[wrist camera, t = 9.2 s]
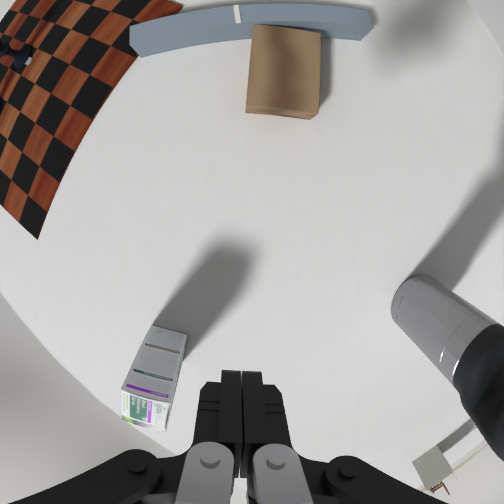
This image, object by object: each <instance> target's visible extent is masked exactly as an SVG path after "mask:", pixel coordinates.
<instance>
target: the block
mask: <svg viewBox="0 0 504 504" xmlns="http://www.w3.org/2000/svg"><path fill="white" fill-rule="evenodd" d="M320 58H321V33H316V32H310V31H305V30H299V29H292V28H285V27H277V26H268V25H258V24H254V26H253V35H252V44H251V55H250V66H249V77H248V89H247V101H246V113H253V114H265V115H275V116H284V117H293V118H300V119H308V120H310V119H311V118H313V117H314V116H316V115H317V114H318V113H319V92H320Z"/></svg>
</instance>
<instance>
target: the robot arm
mask: <svg viewBox="0 0 504 504" xmlns="http://www.w3.org/2000/svg"><path fill="white" fill-rule="evenodd" d="M391 314H392V318H393V320H394V322H395V323H396V324H397V325H398V326H399V327H400V328H401V329H402V330H403V331H404V332H405V333H406V335H407V336H408V337H409V338H410V339H411V340H412V341H413V342H414V343H415V344H416V345H417V346H418V347H419V348H420V350H421V351H422V352H423V353H424V354H425V355H426V356H427V357H428V358H429V359H430V360H431V362H432V363H433V364H434V365H435V366H436V367H437V368H438V369H439V370H440V371H441V373H442V374H443V375H444V376H445V377H446V378H447V379H448V380H449V381H450V383H451V384H452V385H453V386H454V387H455V388H456V389H457V391H458V392H459V394H460V398H461V402H462V405H463V407H464V409H465V410H466V412H467V413H468V415H469V416H470V417H471V419H472V420H473V422H474V423H475V425H476V426H477V428H478V429H479V431H480V432H481V434H482V435H483V437H484V438H485V440H486V441H487V443H488V444H489V446H490V447H491V448H492V450H493V451H494V452H495V453H496V455H498V457H499V458H500V459H502V460H503V461H504V327H503V326H502V325H501V324H499V323H498V322H496V321H495V320H494V319H492V318H491V317H489V316H488V315H486V314H485V313H483V312H482V311H480V310H479V309H477V308H476V307H475V306H473V305H472V304H470V303H469V302H467V301H466V300H464V299H463V298H461V297H460V296H458V295H456V294H455V293H453V292H452V291H450V290H449V289H447V288H446V287H444V286H443V285H441V284H440V283H438V282H436V281H435V280H433V279H432V278H430V277H428V276H426V275H417V276H414V277H412V278H410V279H408V280H407V281H405V282H404V283H403V284H402V285H401V286H400V288H399V289H398V291H397V292H396V294H395V296H394V299H393V302H392V307H391ZM239 467H240V478H247V493H246V498H247V504H448V503H446V502H443V501H441V500H438V499H436V498H434V497H432V496H429V495H427V494H425V493H423V492H421V491H419V490H417V489H415V488H412V487H410V486H408V485H406V484H404V483H402V482H400V481H399V480H397V479H395V478H393V477H391V476H389V475H387V474H385V473H384V472H382V471H380V470H378V469H376V468H375V467H373V466H371V465H369V464H368V463H366V462H364V461H362V460H361V459H359V458H357V457H354V456H339V457H336V458H334V459H333V460H331V461H330V462H329V463H326V462H319V461H313V460H309V459H306V458H304V457H302V456H300V455H299V454H298V453H297V452H295V450H294V449H293V447H292V445H291V440H290V435H289V430H288V425H287V420H286V414H285V409H284V406H283V399H282V394H281V392H280V391H279V390H278V389H277V387H276V386H275V385H263V381H262V373H261V372H256V371H242V375H241V371H233V370H222V376H221V383H219V382H207V383H206V384H205V385H204V386H203V387H202V389H201V390H200V396H199V403H198V411H197V417H196V424H195V431H194V439H193V443H192V445H191V447H190V448H189V449H188V450H187V451H186V452H185V453H183V454H181V455H178V456H174V457H168V458H156V457H155V456H154V455H153V454H151V453H150V452H147V451H145V450H139V449H132V450H127V451H125V452H123V453H121V454H119V455H117V456H116V457H114V458H112V459H110V460H108V461H106V462H104V463H102V464H100V465H98V466H96V467H95V468H92V469H90V470H88V471H86V472H84V473H82V474H80V475H78V476H76V477H74V478H72V479H69V480H67V481H65V482H63V483H61V484H58V485H56V486H54V487H51V488H49V489H46V490H44V491H41V492H39V493H36V494H34V495H31V496H29V497H26V498H23V499H21V500H18V501H15V502H12V503H9V504H230V497H231V495H232V493H233V487H234V478H238V475H239Z"/></svg>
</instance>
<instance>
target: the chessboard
mask: <svg viewBox="0 0 504 504" xmlns="http://www.w3.org/2000/svg"><path fill="white" fill-rule="evenodd" d="M181 9H182V6H181V5H178V4H176V3H173V2H171V1H168V0H16V1H15V2H14V4H13V5H12V6H11V8H10V9H9V11H8V12H7V13H6V15H5V16H4V18H3V19H2V20H1V22H0V204H1V206H2V207H3V208H4V209H5V210H6V211H7V212H8V213H9V214H10V215H12V216H13V217H14V218H15V219H16V220H17V221H18V222H19V223H20V224H21V225H22V226H23V227H24V228H25V229H26V230H27V231H28V232H29V233H31V234H32V235H33V236H34V237H35V238H36V239H37V240H38V237H39V235H40V232H41V229H42V226H43V223H44V221H45V218H46V215H47V213H48V210H49V208H50V205H51V203H52V201H53V198H54V196H55V193H56V191H57V189H58V187H59V184H60V182H61V180H62V178H63V176H64V174H65V172H66V169H67V167H68V165H69V163H70V161H71V159H72V157H73V156H74V154H75V152H76V150H77V148H78V146H79V144H80V142H81V141H82V139H83V137H84V135H85V134H86V132H87V130H88V128H89V127H90V125H91V123H92V122H93V120H94V118H95V117H96V115H97V113H98V112H99V110H100V109H101V107H102V106H103V104H104V103H105V101H106V100H107V98H108V97H109V95H110V94H111V92H112V91H113V89H114V88H115V86H116V85H117V84H118V82H119V81H120V79H121V78H122V77H123V75H124V74H125V73H126V71H127V70H128V69H129V67H130V66H131V65H132V63H133V62H134V61H135V60H136V58H137V57H138V56H139V55H138V54H137V52H136V51H135V50H134V49H133V48H132V47H131V46H130V26H133V25H136V24H139V23H143V22H147V21H150V20H154V19H158V18H162V17H166V16H171V15H175V14H177V13H178V12H179V11H180V10H181Z"/></svg>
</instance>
